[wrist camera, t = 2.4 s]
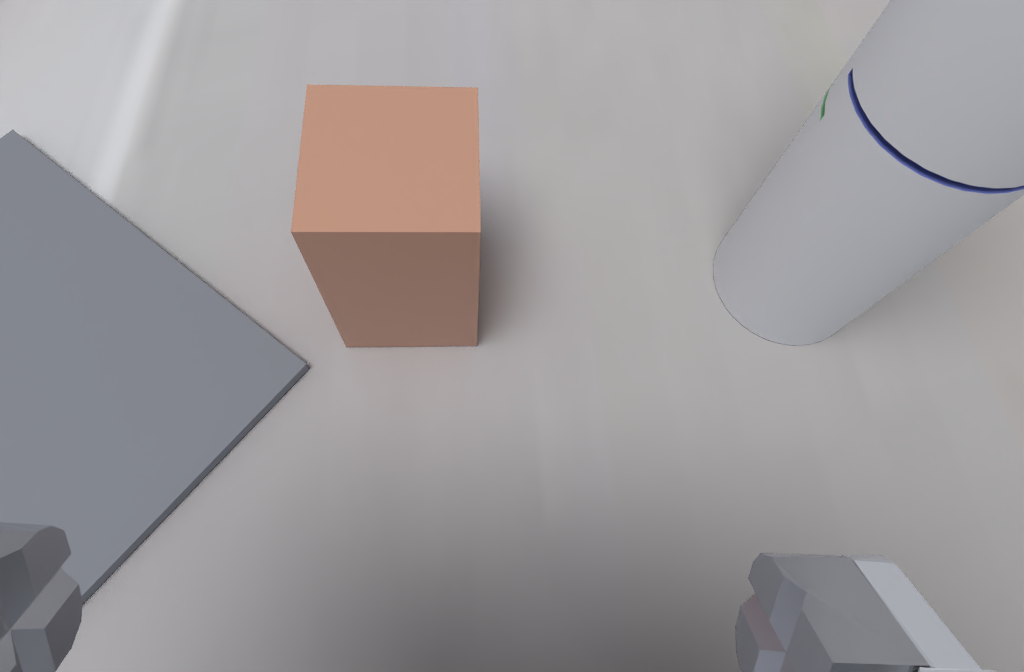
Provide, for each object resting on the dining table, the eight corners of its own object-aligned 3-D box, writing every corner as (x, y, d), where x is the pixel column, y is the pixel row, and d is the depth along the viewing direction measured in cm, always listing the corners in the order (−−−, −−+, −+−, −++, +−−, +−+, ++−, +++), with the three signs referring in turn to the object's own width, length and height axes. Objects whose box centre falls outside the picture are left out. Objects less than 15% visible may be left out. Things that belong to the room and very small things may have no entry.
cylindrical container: (721, 343, 31) (1470, -422, 8) (705, 216, 34) (1224, -630, 11) (866, 347, 31) (1983, -368, 8) (838, 221, 34) (1618, -581, 11)
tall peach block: (477, 345, 30) (481, 231, 21) (346, 347, 30) (291, 231, 20) (475, 234, 32) (477, 87, 23) (353, 234, 32) (307, 84, 23)
